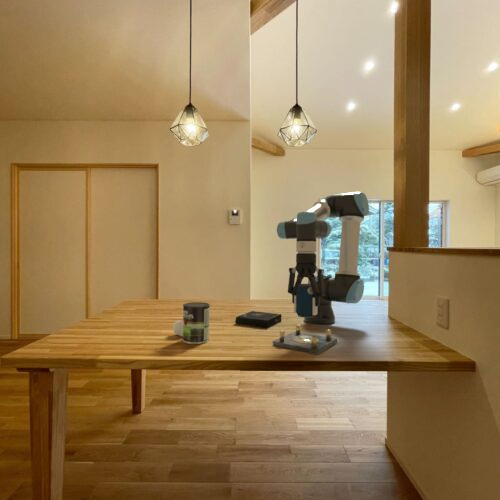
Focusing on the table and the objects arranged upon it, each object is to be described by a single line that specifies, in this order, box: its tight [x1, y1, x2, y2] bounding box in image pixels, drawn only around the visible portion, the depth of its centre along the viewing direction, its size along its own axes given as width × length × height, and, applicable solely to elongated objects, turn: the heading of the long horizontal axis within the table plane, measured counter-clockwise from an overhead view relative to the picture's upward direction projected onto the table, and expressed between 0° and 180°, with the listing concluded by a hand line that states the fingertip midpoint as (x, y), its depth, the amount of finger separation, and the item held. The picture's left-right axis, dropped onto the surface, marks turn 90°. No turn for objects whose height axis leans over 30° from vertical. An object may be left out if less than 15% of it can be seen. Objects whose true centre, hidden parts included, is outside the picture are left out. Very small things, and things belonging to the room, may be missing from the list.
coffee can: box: [182, 301, 211, 345], centre depth 124 cm, size 10×10×14 cm
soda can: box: [295, 283, 314, 318], centre depth 120 cm, size 7×7×12 cm
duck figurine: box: [172, 311, 183, 337], centre depth 133 cm, size 12×8×11 cm
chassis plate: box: [272, 324, 338, 355], centre depth 120 cm, size 18×18×5 cm
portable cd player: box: [234, 310, 282, 329], centre depth 155 cm, size 16×17×4 cm
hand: (305, 313), depth 120 cm, fingers closed on soda can, 7 cm apart
